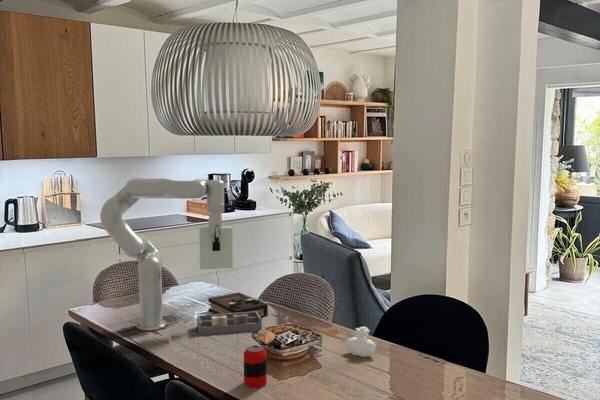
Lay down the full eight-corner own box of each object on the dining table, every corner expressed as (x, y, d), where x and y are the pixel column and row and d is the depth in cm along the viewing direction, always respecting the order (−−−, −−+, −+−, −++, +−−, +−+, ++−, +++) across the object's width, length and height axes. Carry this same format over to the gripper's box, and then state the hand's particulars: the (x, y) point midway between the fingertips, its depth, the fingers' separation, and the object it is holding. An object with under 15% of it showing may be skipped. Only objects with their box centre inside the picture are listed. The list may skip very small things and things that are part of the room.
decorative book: (238, 289, 280) (272, 303, 257) (238, 304, 281) (272, 319, 258) (203, 295, 269) (236, 310, 245) (203, 311, 270) (236, 327, 246)
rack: (199, 337, 232) (199, 323, 232) (197, 329, 242) (197, 315, 242) (261, 332, 239) (261, 318, 238) (257, 324, 249) (256, 311, 249)
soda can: (266, 378, 192) (266, 344, 191) (266, 388, 185) (266, 352, 184) (244, 378, 192) (244, 344, 191) (243, 388, 185) (243, 352, 183)
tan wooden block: (234, 330, 237) (234, 317, 237) (233, 328, 240) (232, 314, 240) (248, 329, 239) (248, 315, 238) (247, 327, 242) (246, 313, 241)
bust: (376, 362, 213) (383, 334, 218) (370, 355, 207) (377, 326, 212) (346, 356, 218) (354, 329, 223) (340, 349, 213) (348, 321, 218)
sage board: (200, 269, 245) (199, 228, 243) (199, 268, 247) (199, 227, 245) (232, 267, 249) (232, 227, 247) (231, 266, 251) (231, 226, 249)
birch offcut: (212, 332, 235) (212, 318, 234) (211, 330, 238) (211, 316, 237) (226, 331, 237) (226, 317, 236) (226, 329, 240) (225, 315, 239)
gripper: (205, 206, 252) (205, 247, 254) (208, 210, 237) (209, 254, 238) (221, 206, 254) (222, 246, 256) (226, 210, 238) (227, 253, 240)
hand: (215, 249), depth 247 cm, fingers closed on sage board, 2 cm apart
